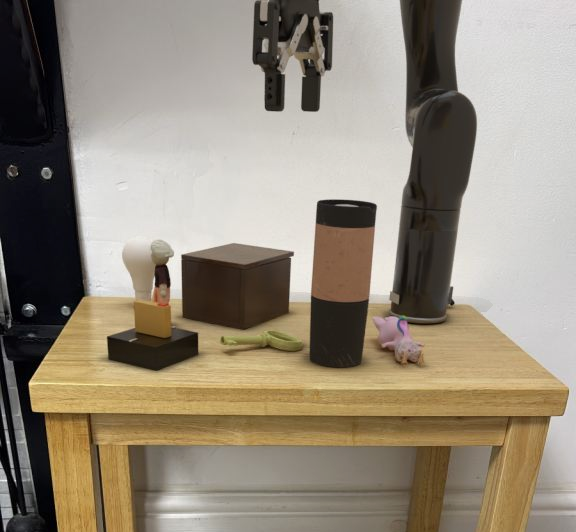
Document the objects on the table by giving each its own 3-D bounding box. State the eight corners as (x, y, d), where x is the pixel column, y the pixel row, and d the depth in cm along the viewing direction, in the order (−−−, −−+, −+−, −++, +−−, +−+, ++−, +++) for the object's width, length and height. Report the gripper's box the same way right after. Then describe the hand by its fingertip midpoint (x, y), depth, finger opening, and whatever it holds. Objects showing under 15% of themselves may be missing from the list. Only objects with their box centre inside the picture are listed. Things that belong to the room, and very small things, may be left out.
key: (216, 351, 107) (216, 336, 106) (275, 336, 115) (276, 321, 114) (255, 363, 103) (255, 347, 102) (313, 346, 111) (314, 332, 110)
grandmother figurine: (145, 322, 119) (142, 235, 113) (170, 321, 120) (168, 235, 114) (154, 335, 113) (151, 244, 107) (180, 334, 114) (178, 244, 108)
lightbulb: (170, 306, 129) (168, 236, 124) (145, 312, 124) (142, 240, 119) (142, 300, 132) (139, 231, 127) (117, 306, 127) (112, 235, 122)
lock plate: (152, 343, 109) (151, 321, 108) (199, 354, 106) (198, 331, 104) (107, 359, 102) (106, 335, 100) (156, 370, 98) (155, 346, 97)
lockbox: (230, 302, 133) (230, 248, 129) (288, 312, 128) (291, 257, 124) (182, 317, 123) (181, 259, 119) (244, 329, 118) (245, 269, 114)
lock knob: (135, 331, 103) (133, 299, 101) (141, 329, 104) (140, 297, 102) (165, 338, 101) (164, 305, 99) (171, 336, 102) (170, 303, 100)
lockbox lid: (233, 247, 130) (233, 242, 129) (293, 256, 125) (294, 251, 125) (181, 259, 119) (181, 254, 118) (245, 269, 114) (245, 264, 113)
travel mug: (299, 353, 108) (306, 199, 99) (349, 350, 110) (361, 199, 101) (320, 370, 102) (331, 206, 92) (373, 366, 104) (388, 206, 95)
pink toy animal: (432, 375, 106) (398, 329, 118) (441, 334, 103) (405, 290, 114) (389, 376, 105) (359, 329, 116) (396, 335, 101) (364, 291, 113)
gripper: (300, -45, 91) (294, 110, 99) (232, -68, 80) (232, 109, 88) (358, -49, 88) (348, 113, 95) (296, -73, 77) (290, 112, 84)
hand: (292, 111), depth 92 cm, fingers open, 8 cm apart
